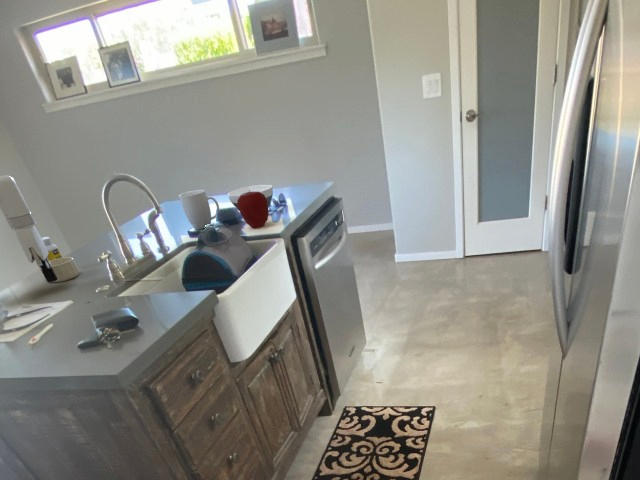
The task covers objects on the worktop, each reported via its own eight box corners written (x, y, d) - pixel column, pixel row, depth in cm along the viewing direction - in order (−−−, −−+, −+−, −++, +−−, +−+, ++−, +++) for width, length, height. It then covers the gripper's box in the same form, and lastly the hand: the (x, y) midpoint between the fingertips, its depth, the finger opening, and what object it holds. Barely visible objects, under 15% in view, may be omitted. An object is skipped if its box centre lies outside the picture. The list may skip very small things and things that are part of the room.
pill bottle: (60, 274, 194) (43, 240, 186) (47, 275, 195) (29, 242, 188) (72, 268, 198) (55, 235, 191) (58, 269, 200) (41, 236, 192)
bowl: (265, 219, 220) (258, 194, 214) (226, 221, 226) (219, 197, 220) (285, 207, 233) (279, 183, 227) (248, 210, 239) (241, 186, 233)
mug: (220, 220, 230) (210, 186, 222) (226, 224, 223) (216, 189, 214) (187, 228, 226) (175, 194, 217) (193, 232, 218) (181, 197, 210)
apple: (277, 221, 214) (268, 184, 205) (265, 230, 206) (256, 191, 197) (251, 223, 218) (241, 187, 209) (239, 231, 209) (228, 194, 201)
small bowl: (46, 285, 185) (37, 269, 181) (50, 277, 193) (42, 261, 189) (78, 278, 187) (70, 262, 183) (81, 270, 195) (73, 254, 191)
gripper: (14, 219, 171) (45, 277, 183) (4, 229, 160) (37, 289, 172) (38, 214, 172) (67, 272, 184) (29, 224, 161) (61, 284, 173)
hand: (52, 280), depth 178 cm, fingers closed
